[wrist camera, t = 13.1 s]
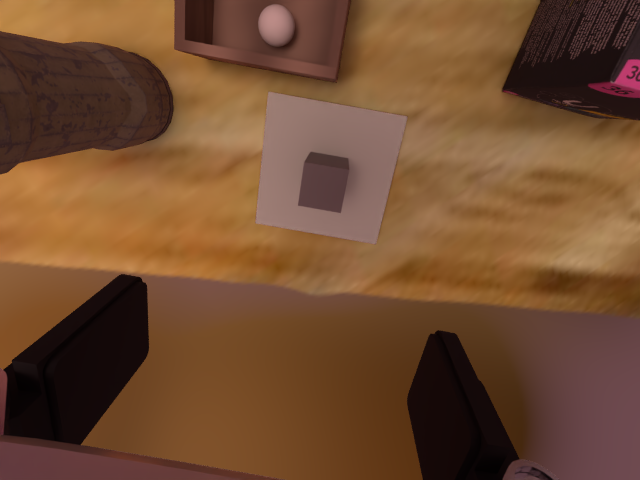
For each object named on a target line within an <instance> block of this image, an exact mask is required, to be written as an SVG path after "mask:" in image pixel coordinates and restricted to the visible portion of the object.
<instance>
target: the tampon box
mask: <svg viewBox="0 0 640 480" xmlns="http://www.w3.org/2000/svg"><path fill="white" fill-rule="evenodd" d="M503 92H507V93H510V94H514V95H517V96H521V97H524V98H527V99H531V100H534V101H537V102H541V103H544V104H547V105H551V106H554V107H558V108H561V109H565V110H569V111H572V112H576V113H579V114H583V115H587V116H591V117H595V118H609V119H629V120H640V0H541V3H540V5H539V7H538V10H537V12H536V14H535V17H534V19H533V21H532V23H531V25H530V28H529V30H528V33H527V35H526V37H525V40H524V42H523V44H522V46H521V49H520V51H519V53H518V55H517V58H516V60H515V62H514V65H513V67H512V69H511V72H510V74H509V76H508V79H507V81H506V83H505V86H504V88H503Z"/></svg>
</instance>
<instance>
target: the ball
mask: <svg viewBox="0 0 640 480" xmlns="http://www.w3.org/2000/svg"><path fill="white" fill-rule="evenodd" d="M258 28H259V32H260V35H261V37H262V38H263V40H264V41H265V42H266V43H267V44H269V45H271V46H274V47H282V46H284V45H286V44H288V43H289V42H290V40H291V39H292V37H293V35H294V31H295V23H294V19H293V16H292V15H291V13H290V12H289V11H288V9H286V8H285V7H283V6H281V5H277V4H273V5H269V6H267V7H266V8H265V9H264V10H263V11H262V12H261V14H260V17H259V21H258Z"/></svg>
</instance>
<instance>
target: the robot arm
mask: <svg viewBox="0 0 640 480" xmlns="http://www.w3.org/2000/svg"><path fill="white" fill-rule="evenodd" d="M148 351H149V336H148V303H147V285H146V283H144V282H142V279H141V278H140V277H136V276H130V275H125V274H121V275H119V276H118V277H116V278H115V279H114V280H113V281H111V282H110V283H109V284H108V285H106V286H105V287H104V288H103V289H101V290H100V291H99V292H98V293H96V294H95V295H94V296H92V297H91V298H90V299H89V300H87V301H86V302H85V303H84V304H82V305H81V306H80V307H79V308H77V309H76V310H75V311H73V312H72V313H71V314H70V315H68V316H67V317H66V318H65V319H63V320H62V321H61V322H60V323H58V324H57V325H56V326H55V327H53V328H52V329H51V330H50V331H48V332H47V333H46V334H44V335H43V336H42V337H41V338H39V339H38V340H37V341H36V342H34V343H33V344H32V345H31V346H29V347H28V348H27V349H26V350H24V351H23V352H22V353H20V354H19V355H18V356H17V357H15V358H14V359H13V360H12V363H11V364H10V365H9V366H8V367H6V368H5V369H4V370H2V369H1V368H0V480H283V479H277V478H271V477H265V476H260V475H255V474H249V473H243V472H237V471H232V470H226V469H220V468H214V467H209V466H202V465H196V464H191V463H186V462H180V461H174V460H168V459H162V458H155V457H150V456H144V455H138V454H132V453H125V452H120V451H114V450H108V449H102V448H96V447H90V446H83V445H81V443H82V442H83V441H84V439H85V438H86V437H87V435H88V434H89V433H90V432H91V430H92V429H93V428H94V426H95V425H96V424H97V422H98V421H99V420H100V418H101V417H102V416H103V414H104V413H105V412H106V410H107V409H108V408H109V406H110V405H111V404H112V402H113V401H114V400H115V398H116V397H117V396H118V395H119V393H120V392H121V391H122V389H123V388H124V387H125V385H126V384H127V383H128V381H129V380H130V379H131V377H132V376H133V375H134V373H135V372H136V371H137V369H138V368H139V367H140V365H141V364H142V363H143V362H144V360H145V359H146V357H147V354H148ZM407 405H408V410H409V415H410V420H411V425H412V429H413V434H414V439H415V444H416V449H417V453H418V458H419V463H420V468H421V472H422V477H423V480H559V479H558V478H557V477H556V476H555V475H554V474H552V473H551V472H550V471H549V470H547V469H546V468H544V467H542V466H541V465H539V464H537V463H534V462H531V461H529V460H520V459H519V457H518V455H517V453H516V451H515V449H514V447H513V445H512V443H511V441H510V439H509V437H508V435H507V432H506V430H505V428H504V426H503V425H502V422H501V420H500V418H499V416H498V414H497V412H496V410H495V408H494V406H493V404H492V402H491V400H490V398H489V396H488V394H487V392H486V390H485V387H484V386H483V384H482V383H481V381H479V380H478V378H477V376H476V374H475V371H474V370H473V367H472V365H471V363H470V362H469V359H468V357H467V355H466V353H465V351H464V349H463V347H462V345H461V343H460V340H459V338H458V337H457V335H456V334H455V333H450V332H445V331H439V330H438V331H436V332H435V334H430V335H429V337H428V340H427V343H426V346H425V348H424V351H423V354H422V357H421V360H420V362H419V365H418V368H417V371H416V374H415V376H414V379H413V382H412V385H411V388H410V390H409V393H408V398H407Z"/></svg>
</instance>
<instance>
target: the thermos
mask: <svg viewBox="0 0 640 480" xmlns="http://www.w3.org/2000/svg"><path fill="white" fill-rule="evenodd" d="M172 114H173V97H172V93H171V90H170V88H169V85H168V82H167V80H166V79H165V77H164V76H163V75H162V73H161V72H160V70H159V69H158V68H157V67H156V66H155V65H154V64H152V63H151V62H150V61H149V60H148V59H146V58H144V57H141V56H139V55H137V54H135V53H131V52H126V51H124V50H122V49H120V48H117V47H112V46H108V45H104V44H99V43H91V42H73V43H65V44H63V43H57V42H52V41H47V40H42V39H37V38H32V37H27V36H22V35H16V34H11V33H6V32H1V31H0V174H4V173H7V172H8V171H10V170H11V169H12V168H13V167H15V166H16V165H17V164H18V163H21V162H26V161H31V160H36V159H41V158H46V157H51V156H56V155H61V154H66V153H71V152H76V151H81V150H86V149H91V148H95V149H102V150H112V151H113V150H117V149H122V148H126V147H130V146H134V145H138V144H142V143H144V142H145V141H149V140H153V139H155V138H157V137H158V136H160V135H161V134H162V133H164V132H165V130H166V128H167V127H168V125H169V124H170V122H171V118H172Z"/></svg>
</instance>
